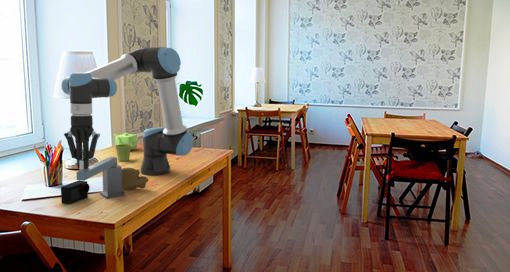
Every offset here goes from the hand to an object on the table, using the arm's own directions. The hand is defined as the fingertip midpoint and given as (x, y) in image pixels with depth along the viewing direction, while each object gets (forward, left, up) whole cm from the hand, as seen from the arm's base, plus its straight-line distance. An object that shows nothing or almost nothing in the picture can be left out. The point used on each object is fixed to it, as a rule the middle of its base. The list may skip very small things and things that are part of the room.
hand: (83, 176), depth 161 cm
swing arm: (-7, -4, 0) cm, 8 cm away
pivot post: (-15, -12, -13) cm, 23 cm away
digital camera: (0, -12, -13) cm, 18 cm away
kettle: (-55, -101, -13) cm, 116 cm away
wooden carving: (-24, -16, -13) cm, 32 cm away
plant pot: (-43, -73, -13) cm, 86 cm away
